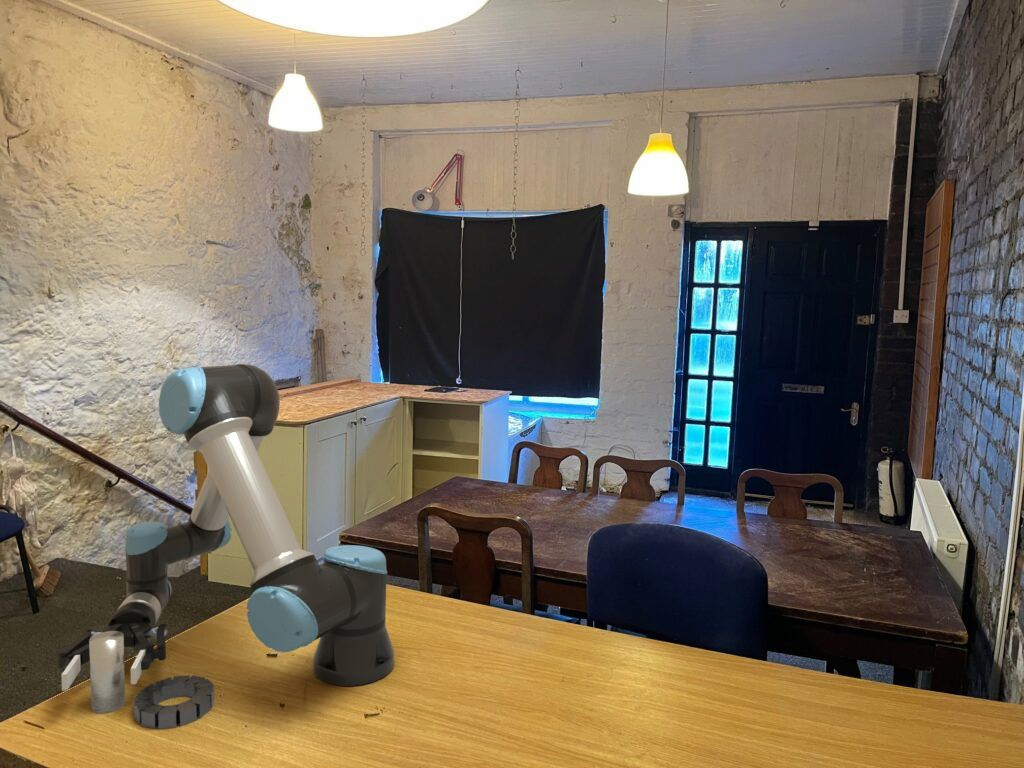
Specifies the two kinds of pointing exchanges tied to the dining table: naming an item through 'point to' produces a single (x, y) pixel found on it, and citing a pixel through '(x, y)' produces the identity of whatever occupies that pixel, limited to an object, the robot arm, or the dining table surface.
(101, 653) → the cylinder
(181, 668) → the dining table surface
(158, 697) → the ring
